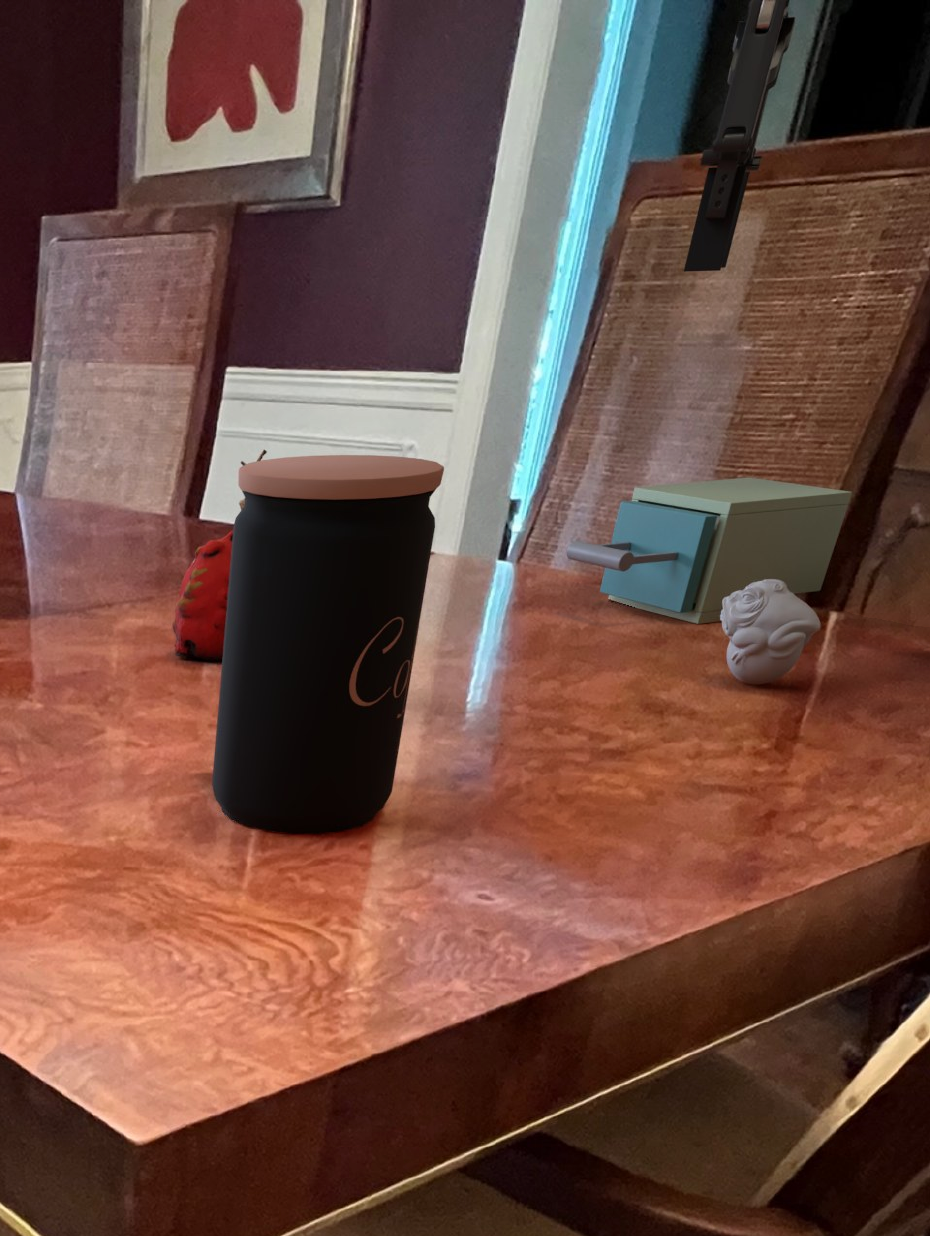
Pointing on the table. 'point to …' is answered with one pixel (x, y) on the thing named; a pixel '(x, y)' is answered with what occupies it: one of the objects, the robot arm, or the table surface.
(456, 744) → the table surface
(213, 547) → the red clay folk toy
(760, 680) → the frog figurine
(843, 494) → the cabinet
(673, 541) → the drawer
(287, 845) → the table surface
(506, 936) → the table surface
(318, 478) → the coffee jar
